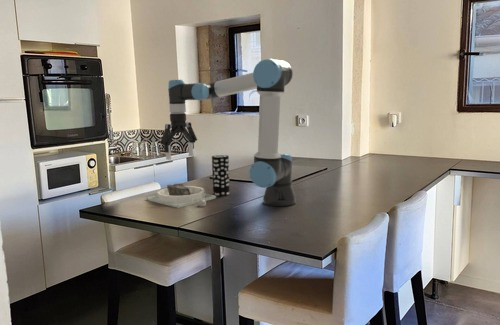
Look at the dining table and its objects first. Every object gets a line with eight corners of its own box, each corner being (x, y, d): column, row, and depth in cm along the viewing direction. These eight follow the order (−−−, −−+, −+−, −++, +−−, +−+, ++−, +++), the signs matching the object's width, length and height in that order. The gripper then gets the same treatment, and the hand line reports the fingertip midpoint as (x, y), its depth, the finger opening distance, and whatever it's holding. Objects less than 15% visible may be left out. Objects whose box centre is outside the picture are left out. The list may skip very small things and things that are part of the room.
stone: (193, 204, 224) (196, 188, 219) (182, 209, 219) (184, 193, 214) (175, 189, 231) (178, 173, 225) (164, 194, 226) (166, 178, 221)
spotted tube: (214, 198, 226) (213, 157, 223) (211, 194, 234) (210, 155, 231) (231, 196, 228) (230, 156, 225) (227, 193, 236) (226, 154, 233)
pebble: (203, 197, 210) (208, 202, 209) (199, 204, 211) (205, 208, 209) (199, 197, 207) (205, 202, 206) (195, 204, 208) (201, 208, 206)
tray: (216, 199, 223) (216, 195, 223) (177, 209, 206) (177, 205, 206) (184, 192, 239) (184, 189, 239) (147, 201, 222) (146, 197, 222)
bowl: (214, 198, 223) (213, 190, 222) (177, 207, 207) (177, 198, 206) (184, 192, 238) (184, 184, 237) (149, 200, 222) (148, 191, 221)
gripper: (193, 111, 228) (194, 153, 231) (151, 114, 210) (153, 160, 213) (203, 111, 223) (204, 155, 226) (160, 114, 205) (163, 161, 208)
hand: (180, 157), depth 219 cm, fingers open, 13 cm apart
